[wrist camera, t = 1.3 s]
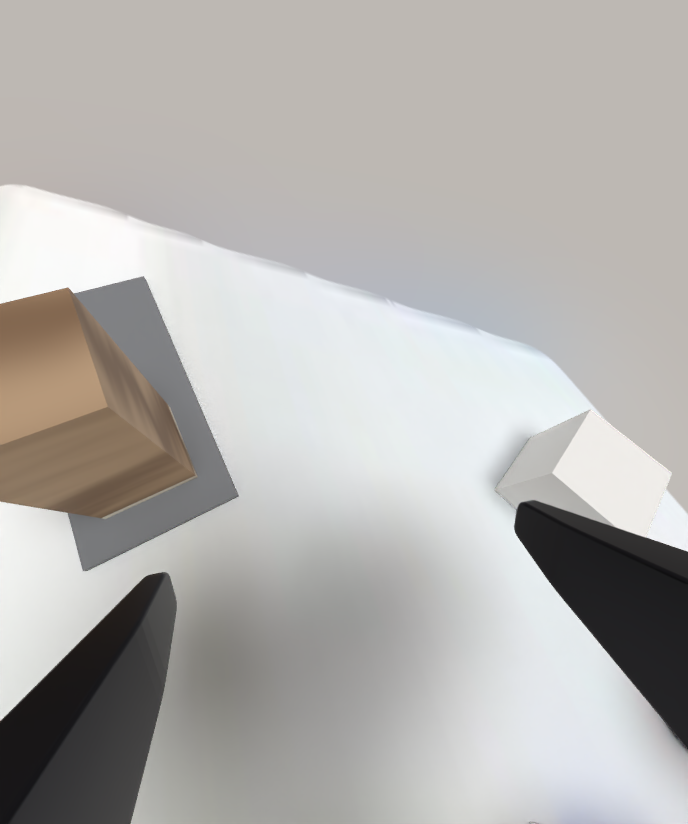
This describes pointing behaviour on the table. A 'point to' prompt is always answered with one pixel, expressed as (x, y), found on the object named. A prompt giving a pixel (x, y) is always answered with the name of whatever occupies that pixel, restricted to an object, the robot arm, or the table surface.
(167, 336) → the plate
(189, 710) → the table surface
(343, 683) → the table surface
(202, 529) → the table surface
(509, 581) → the table surface
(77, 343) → the wooden block
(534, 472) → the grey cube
